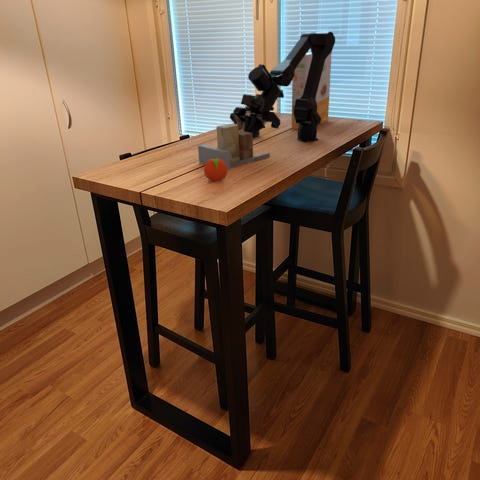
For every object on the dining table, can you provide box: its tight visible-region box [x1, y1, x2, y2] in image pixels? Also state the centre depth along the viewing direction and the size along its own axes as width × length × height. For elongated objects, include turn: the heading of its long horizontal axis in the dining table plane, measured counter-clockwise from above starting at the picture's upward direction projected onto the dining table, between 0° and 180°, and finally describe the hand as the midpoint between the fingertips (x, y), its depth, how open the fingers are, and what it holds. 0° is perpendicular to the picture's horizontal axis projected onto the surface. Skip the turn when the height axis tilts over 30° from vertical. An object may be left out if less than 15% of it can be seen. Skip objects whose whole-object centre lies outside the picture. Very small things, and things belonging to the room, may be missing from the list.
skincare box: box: [215, 123, 240, 163], centre depth 142 cm, size 6×4×12 cm
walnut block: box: [239, 130, 254, 160], centre depth 146 cm, size 4×9×9 cm, turn 42°
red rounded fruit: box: [203, 158, 228, 183], centre depth 125 cm, size 8×7×7 cm
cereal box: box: [291, 51, 333, 130], centre depth 187 cm, size 22×6×30 cm, turn 143°
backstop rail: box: [197, 143, 271, 171], centre depth 146 cm, size 21×14×6 cm, turn 132°
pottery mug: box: [229, 112, 243, 129], centre depth 195 cm, size 12×10×8 cm
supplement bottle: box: [242, 105, 261, 138], centre depth 176 cm, size 7×7×12 cm
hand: (244, 137), depth 147 cm, fingers closed, pressing on walnut block
